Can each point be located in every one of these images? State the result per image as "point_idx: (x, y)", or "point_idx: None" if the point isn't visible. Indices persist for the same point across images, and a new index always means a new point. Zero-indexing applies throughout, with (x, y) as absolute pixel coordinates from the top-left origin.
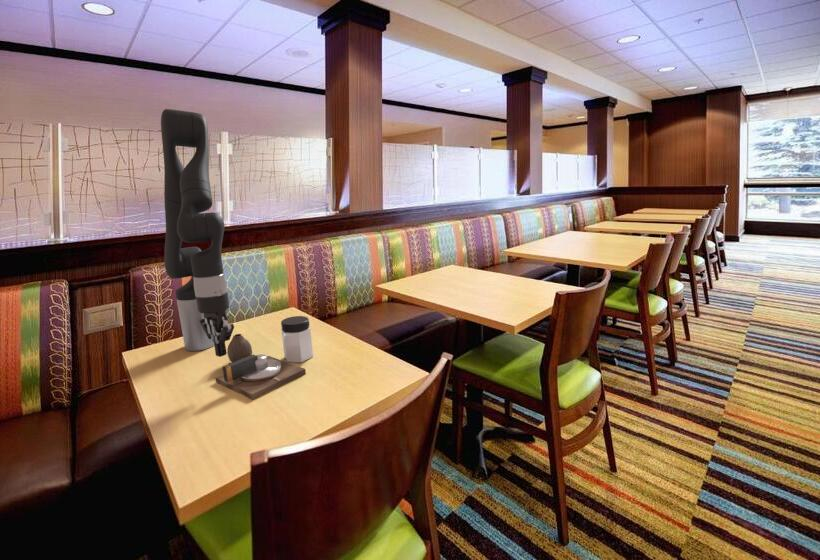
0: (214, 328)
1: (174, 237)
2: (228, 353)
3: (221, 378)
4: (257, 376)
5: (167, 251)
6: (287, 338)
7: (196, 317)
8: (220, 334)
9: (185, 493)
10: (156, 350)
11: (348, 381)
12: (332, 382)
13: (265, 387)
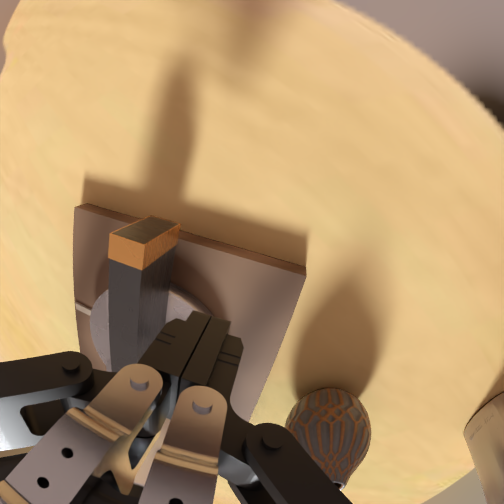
0: (17, 466)
1: None
2: (351, 414)
3: (270, 276)
4: (103, 293)
5: None
6: (146, 471)
7: None
8: (8, 393)
9: None
10: None
11: (19, 334)
12: (30, 328)
13: (74, 257)
